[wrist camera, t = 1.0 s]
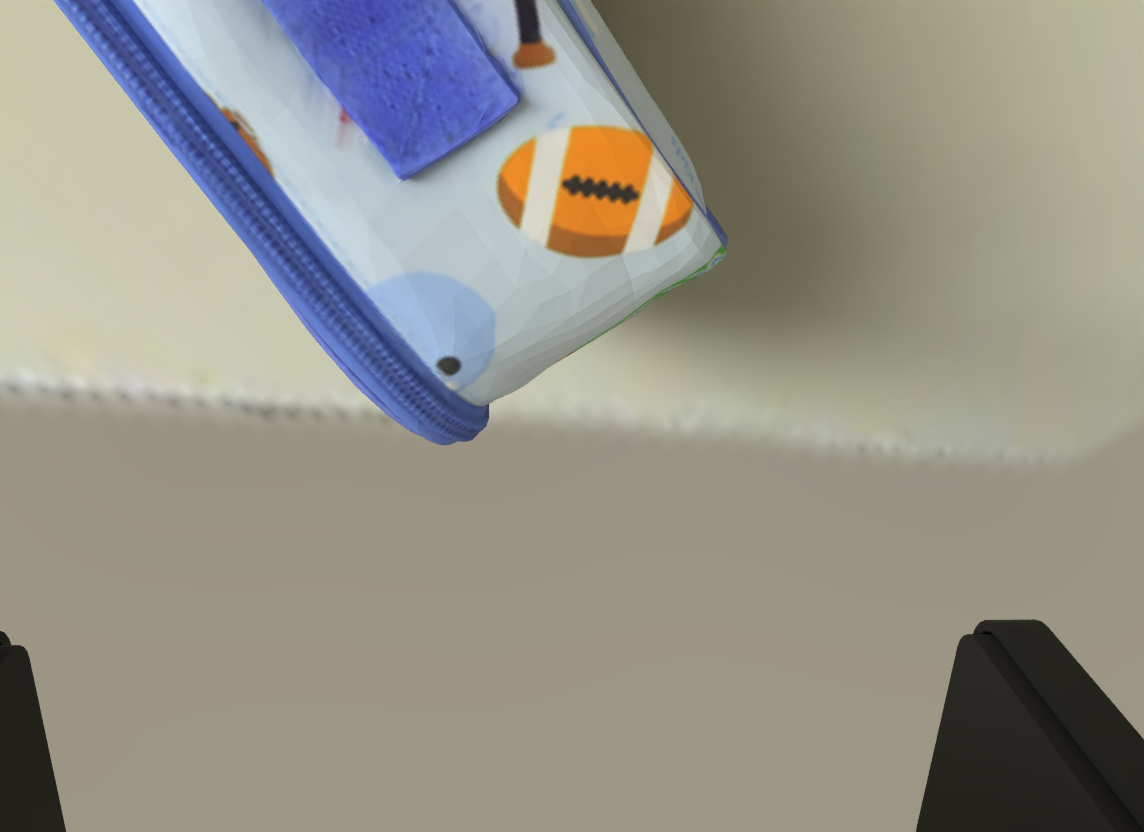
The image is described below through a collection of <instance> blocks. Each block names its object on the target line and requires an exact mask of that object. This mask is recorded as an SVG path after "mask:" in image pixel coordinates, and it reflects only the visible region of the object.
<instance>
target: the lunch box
mask: <svg viewBox="0 0 1144 832" xmlns="http://www.w3.org/2000/svg"><path fill="white" fill-rule="evenodd" d="M54 1H55V3H56V4H57V5H58V7H59V8H60V9H61V10H62V12H63V13H64V14H65V15H66V17H67V18H68V19H69V21H70V22H71V23H72V24H73V26H74V27H75V28H76V30H77V31H78V32H79V33H80V35H81V36H82V37H83V39H84V40H85V41H86V42H87V44H88V45H89V46H90V48H91V49H92V50H93V51H94V53H95V54H96V55H97V57H98V58H99V59H100V60H101V62H102V63H103V64H104V66H105V67H106V68H107V69H108V71H109V72H110V73H111V75H112V76H113V77H114V78H115V80H116V81H117V82H118V84H119V85H120V86H121V87H122V89H123V90H124V91H125V93H126V94H127V95H128V96H129V98H130V99H131V100H132V102H133V103H134V104H135V105H136V107H137V108H138V109H139V111H140V112H141V113H142V114H143V116H144V117H145V118H146V120H147V121H148V122H149V124H150V125H151V126H152V127H153V129H154V130H155V131H156V133H157V134H158V135H159V136H160V138H161V139H162V140H163V142H164V143H165V144H166V145H167V147H168V148H169V149H170V150H171V152H172V153H173V154H174V156H175V157H176V158H177V159H178V161H179V162H180V163H181V164H182V166H183V167H184V168H185V169H186V171H187V172H188V173H189V174H190V176H191V177H192V178H193V180H194V181H195V182H196V183H197V185H198V186H199V187H200V188H201V190H202V191H203V192H204V193H205V195H206V196H207V197H208V198H209V200H210V201H211V202H212V204H213V205H214V206H215V207H216V209H217V210H218V211H219V212H220V214H221V215H222V216H223V217H224V219H225V220H226V221H227V222H228V224H229V225H230V226H231V227H232V229H233V230H234V231H235V232H236V234H237V235H238V236H239V237H240V238H241V240H242V241H243V242H244V243H245V245H246V246H247V247H248V248H249V249H250V251H251V252H252V254H253V255H254V257H255V258H256V259H257V261H258V262H259V264H260V265H261V266H262V268H263V269H264V271H265V272H266V274H267V275H268V276H269V278H270V279H271V281H272V282H273V283H274V285H275V286H276V287H277V289H278V290H279V292H280V293H281V294H282V296H283V297H284V298H285V300H286V301H287V303H288V304H289V305H290V307H291V308H292V309H293V311H294V312H295V314H296V315H297V316H298V318H299V319H300V320H301V322H302V323H303V324H304V326H305V327H306V328H307V330H308V331H309V332H310V333H311V335H312V336H313V337H314V338H315V340H316V341H317V342H318V343H319V345H320V346H321V347H322V348H323V349H324V350H325V352H326V353H327V354H328V355H329V356H330V357H331V358H332V360H333V361H334V362H335V363H336V364H337V365H338V366H339V368H340V369H341V370H342V371H343V372H344V373H345V374H346V376H347V377H348V378H349V379H350V380H351V381H352V382H353V384H354V385H355V386H356V387H357V388H358V389H359V390H360V391H361V392H362V393H364V394H365V395H366V396H367V397H368V398H369V399H370V400H371V401H372V402H373V403H375V404H376V405H377V406H378V407H379V408H380V409H381V410H382V411H383V412H384V413H386V414H387V415H388V416H389V417H391V418H392V419H394V420H395V421H396V422H398V423H399V424H401V425H402V426H404V427H405V428H406V429H408V430H409V431H411V432H413V433H415V434H417V435H419V436H422V437H424V438H425V439H427V440H429V441H431V442H433V443H436V444H439V445H450V444H453V443H455V442H457V441H462V442H466V441H470V440H473V439H474V438H475V437H476V436H477V434H478V433H479V432H480V431H481V430H483V429H484V428H485V427H486V425H487V422H488V419H489V403H491V402H493V401H494V400H496V399H498V398H501V397H503V396H505V395H507V394H510V393H512V392H514V391H516V390H518V389H519V388H521V387H523V386H524V385H526V384H527V383H528V382H530V381H531V380H532V379H534V378H535V377H537V376H538V375H539V374H541V373H542V372H543V371H545V370H546V369H547V368H549V367H550V366H552V365H554V364H555V363H557V362H559V361H560V360H562V359H563V358H565V357H567V356H568V355H570V354H572V353H573V352H575V351H577V350H578V349H580V348H581V347H583V346H585V345H586V344H588V343H590V342H591V341H593V340H595V339H596V338H598V337H600V336H601V335H603V334H604V333H606V332H608V331H609V330H611V329H613V328H614V327H616V326H617V325H619V324H621V323H622V322H624V321H626V320H627V319H629V318H630V317H632V316H634V315H635V314H636V313H638V312H639V311H640V310H641V309H643V308H644V307H645V306H647V305H648V304H649V303H651V302H652V301H653V300H655V299H656V298H658V297H659V296H661V295H663V294H665V293H666V292H668V291H670V290H672V289H674V288H676V287H678V286H680V285H682V284H684V283H686V282H688V281H690V280H693V279H695V278H697V277H699V276H701V275H703V274H705V273H707V272H709V271H710V270H711V269H713V268H714V267H715V266H716V265H718V264H719V263H720V262H721V261H722V260H724V259H725V258H726V256H727V253H726V249H725V248H726V244H727V240H728V239H727V237H726V234H725V233H724V231H723V229H722V228H721V226H720V225H719V223H718V221H717V220H716V219H715V217H714V216H713V215H712V213H711V212H710V211H709V209H708V208H707V207H706V205H705V202H704V197H703V193H702V188H701V185H700V182H699V179H698V176H697V174H696V171H695V168H694V166H693V163H692V162H691V160H690V158H689V156H688V154H687V152H686V151H685V149H684V147H683V145H682V143H681V142H680V140H679V139H678V137H677V136H676V134H675V132H674V131H673V129H672V128H671V126H670V125H669V123H668V122H667V120H666V119H665V117H664V115H663V114H662V112H661V111H660V109H659V108H658V106H657V105H656V103H655V102H654V100H653V98H652V97H651V95H650V94H649V92H648V91H647V89H646V88H645V86H644V85H643V83H642V81H641V80H640V78H639V77H638V75H637V73H636V72H635V70H634V69H633V67H632V65H631V64H630V62H629V61H628V59H627V58H626V56H625V54H624V53H623V51H622V50H621V48H620V46H619V45H618V43H617V42H616V40H615V39H614V37H613V35H612V34H611V32H610V31H609V29H608V27H607V26H606V24H605V23H604V21H603V19H602V18H601V16H600V15H599V13H598V12H597V10H596V8H595V7H594V5H593V4H592V2H591V0H54Z"/></svg>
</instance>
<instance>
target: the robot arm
mask: <svg viewBox="0 0 1144 832" xmlns="http://www.w3.org/2000/svg"><path fill="white" fill-rule="evenodd" d="M0 832H66V829H65V825H64V820H63V815H62V810H61V805H60V800H59V796H58V791H57V786H56V781H55V777H54V772H53V767H52V763H51V758H50V753H49V748H48V744H47V739H46V734H45V729H44V725H43V720H42V715H41V710H40V706H39V701H38V697H37V691H36V687H35V682H34V677H33V673H32V669H31V663H30V658H29V655H28V652H27V651H26V649H25V648H24V647H23V646H20V645H11V643H10V640H9V638H8V637H7V635H6V634H5V633H4V632H2V631H0ZM916 832H1144V739H1143V738H1142V737H1141V736H1140V734H1139V733H1138V732H1137V731H1136V730H1135V729H1134V727H1133V726H1132V725H1131V724H1130V723H1129V722H1128V721H1127V719H1126V718H1125V717H1124V716H1123V714H1122V713H1121V712H1120V711H1119V710H1118V709H1117V707H1116V706H1115V705H1114V704H1113V703H1112V702H1111V700H1110V699H1109V698H1108V697H1107V696H1106V695H1105V693H1104V692H1103V691H1102V690H1101V689H1100V687H1099V686H1098V685H1097V684H1096V683H1095V682H1094V680H1093V679H1092V678H1091V677H1090V676H1089V675H1088V673H1087V672H1086V671H1085V670H1084V669H1083V668H1082V666H1081V665H1080V664H1079V663H1078V662H1077V660H1076V659H1075V658H1074V657H1073V656H1072V655H1071V654H1070V652H1069V651H1068V650H1067V649H1066V648H1065V646H1064V645H1063V644H1062V643H1061V642H1060V641H1059V640H1058V638H1057V637H1056V636H1055V635H1054V633H1053V632H1052V631H1051V630H1050V629H1049V628H1048V627H1047V626H1046V625H1045V624H1044V623H1043V622H1041V621H1038V620H985V621H982V622H980V623H979V624H978V625H977V627H976V628H975V630H974V633H973V634H968V635H964V636H963V637H962V638H961V639H960V641H959V644H958V647H957V651H956V656H955V660H954V665H953V669H952V673H951V678H950V682H949V687H948V691H947V695H946V700H945V704H944V709H943V713H942V718H941V722H940V727H939V731H938V735H937V740H936V744H935V749H934V753H933V758H932V762H931V767H930V771H929V775H928V780H927V784H926V788H925V793H924V797H923V802H922V806H921V810H920V815H919V819H918V824H917V830H916Z"/></svg>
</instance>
